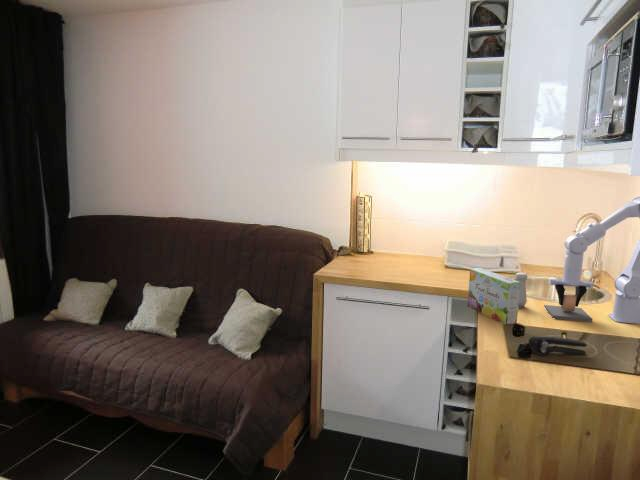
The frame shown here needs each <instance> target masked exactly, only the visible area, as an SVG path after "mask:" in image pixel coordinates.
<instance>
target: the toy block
mask: <svg viewBox="0 0 640 480" xmlns="http://www.w3.org/2000/svg"><path fill="white" fill-rule="evenodd" d="M576 299H577V295H575V294H574V293H569V292H564V296H563V305H560V306H561V309H562V310H565V311H575V308H576Z"/></svg>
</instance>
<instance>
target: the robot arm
mask: <svg viewBox="0 0 640 480" xmlns="http://www.w3.org/2000/svg"><path fill="white" fill-rule="evenodd" d="M628 218H639V219H640V196H636V197H634V198H633V199H632V200H630V201H627V202H626V203H624V205H623V206H621V207H620V208H618V209H617V210H615V211H614V212H613V213H611V214H610V215H609V216H607V217H606V218H605V219H603V220H602V221H600V222H593V223H591V222H589V223H588V224H587V225H586V226H587V227H585V228H584V229H582V230H581V231H579V232H578V231H577V232H576V233H574V234H575V235H571V236H569V237H567V239H566V241H565V242H564V246H565V249H566V251H565V257H564V264H563V272H562V273H563V275H562V278H549V280H548V284H549V285H550V286H554V287H555V290H556V293H557V297H558V304H559V306H561V305H563V296H564V293H566V292H565V291H566V288H565V287H575V295H577V299H576V306H575V308H579V304H580V302H581V300H582V298H583V297H584V295H585V294H586V293H587V291H588V289H594V282H593V281H587V280H586V281H585V280H581V277H582V270H583V262H584V253H585V252H586V251H587V250H588V247H589V246H591V245H593V244H594V243H596V242H597V241H599V240H600V239H601V238H604V237H605V236H606V233H607V231H609V229H611V228H612V227H614V226H616V225H618V224H620V223H621V222H623V221H625V220H627V219H628ZM613 284H614V288H615V289H616V291H615V295H614V300H613V309H612V313H607V315H608V317H610V318H611V319H612V320H613V321H615V322H617V323H628V324H638V325H640V237H638V240H637V242H636V245H635V247H634V249H633V251H632V255H631V257H630V259H629V261H628V264H627V265H626V267H625V268H624V269H622V270H621V272H620V273H619V275H618V276H617V277H616V278H615V279H614V282H613ZM587 288H588V289H587Z"/></svg>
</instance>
